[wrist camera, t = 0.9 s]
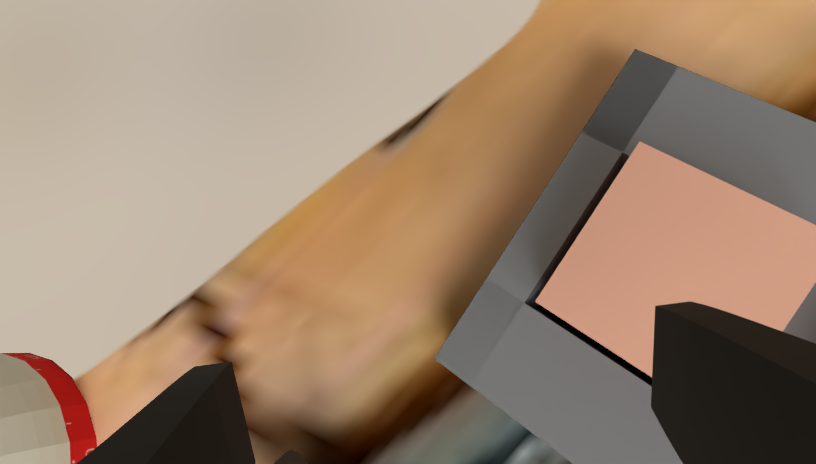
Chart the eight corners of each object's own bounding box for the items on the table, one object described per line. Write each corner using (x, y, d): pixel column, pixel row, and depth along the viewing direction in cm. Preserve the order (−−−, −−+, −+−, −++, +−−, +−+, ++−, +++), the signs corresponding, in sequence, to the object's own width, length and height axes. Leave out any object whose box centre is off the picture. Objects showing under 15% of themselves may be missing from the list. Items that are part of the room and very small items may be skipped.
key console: (1284, 364, 16) (1418, 368, 13) (1001, 764, 17) (1076, 846, 14) (634, 83, 24) (635, 48, 21) (455, 357, 25) (434, 358, 22)
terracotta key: (803, 260, 19) (844, 239, 15) (703, 409, 19) (721, 422, 16) (637, 176, 21) (639, 141, 18) (550, 309, 22) (534, 301, 18)
